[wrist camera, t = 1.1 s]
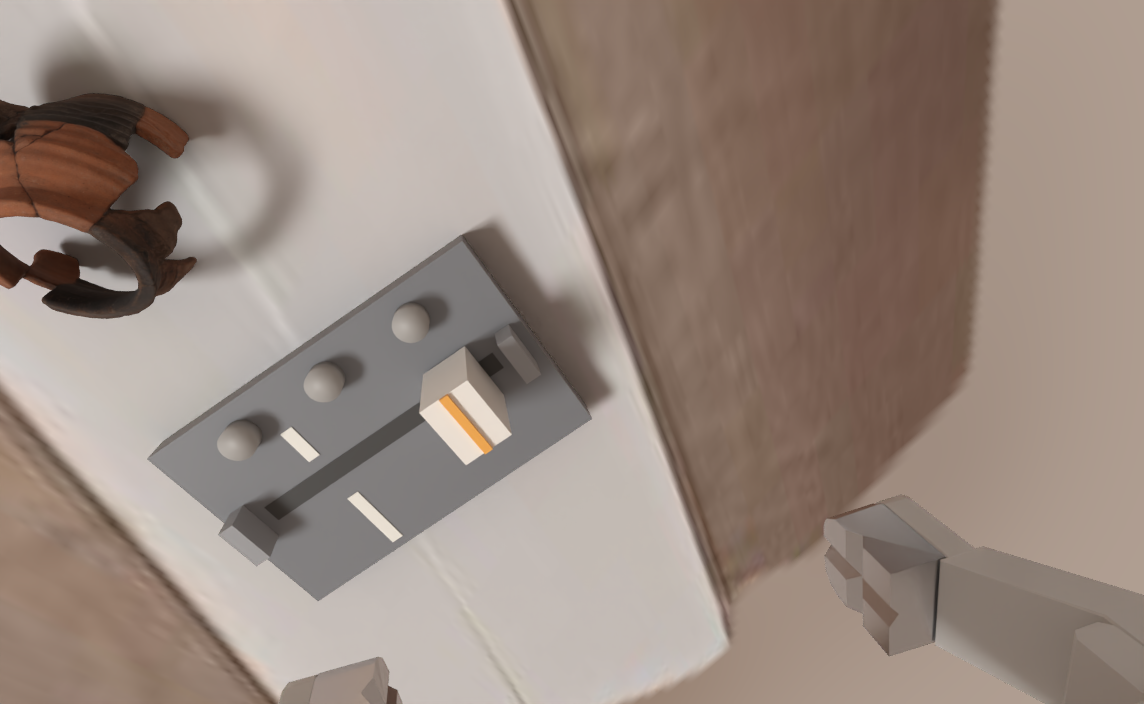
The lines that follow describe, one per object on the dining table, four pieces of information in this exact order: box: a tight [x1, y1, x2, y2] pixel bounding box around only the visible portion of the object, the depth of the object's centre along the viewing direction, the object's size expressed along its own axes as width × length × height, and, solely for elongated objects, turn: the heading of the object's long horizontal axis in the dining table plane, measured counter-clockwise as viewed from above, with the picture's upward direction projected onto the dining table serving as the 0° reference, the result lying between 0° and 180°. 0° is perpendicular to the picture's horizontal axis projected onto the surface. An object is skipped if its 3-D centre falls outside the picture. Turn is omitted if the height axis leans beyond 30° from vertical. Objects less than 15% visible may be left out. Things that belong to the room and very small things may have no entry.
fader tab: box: [419, 346, 512, 465], centre depth 33 cm, size 3×4×5 cm
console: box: [148, 235, 592, 601], centre depth 36 cm, size 22×14×4 cm, turn 123°
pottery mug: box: [0, 93, 197, 319], centre depth 28 cm, size 12×10×8 cm
